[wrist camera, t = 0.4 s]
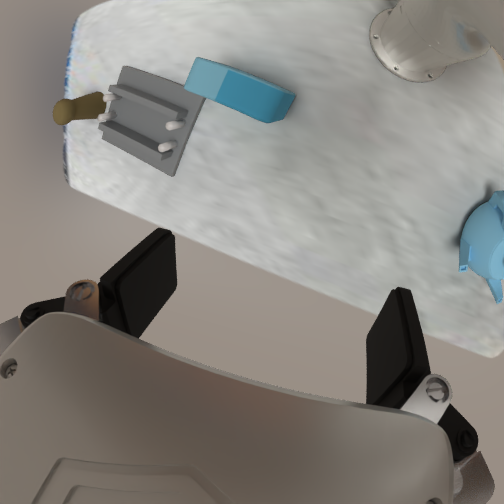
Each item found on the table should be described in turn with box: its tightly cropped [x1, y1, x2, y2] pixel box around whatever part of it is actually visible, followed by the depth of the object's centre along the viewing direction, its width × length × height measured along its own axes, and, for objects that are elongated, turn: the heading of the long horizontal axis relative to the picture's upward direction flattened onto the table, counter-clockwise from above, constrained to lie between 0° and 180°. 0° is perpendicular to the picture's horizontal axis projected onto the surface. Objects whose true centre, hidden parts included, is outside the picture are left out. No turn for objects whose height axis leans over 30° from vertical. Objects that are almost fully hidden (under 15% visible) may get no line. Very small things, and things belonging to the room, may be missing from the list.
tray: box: [98, 66, 206, 177], centre depth 40 cm, size 16×19×5 cm
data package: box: [184, 57, 296, 123], centre depth 31 cm, size 12×4×12 cm, turn 66°
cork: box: [53, 92, 106, 125], centre depth 39 cm, size 6×6×11 cm
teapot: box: [459, 191, 504, 304], centre depth 31 cm, size 15×15×11 cm
